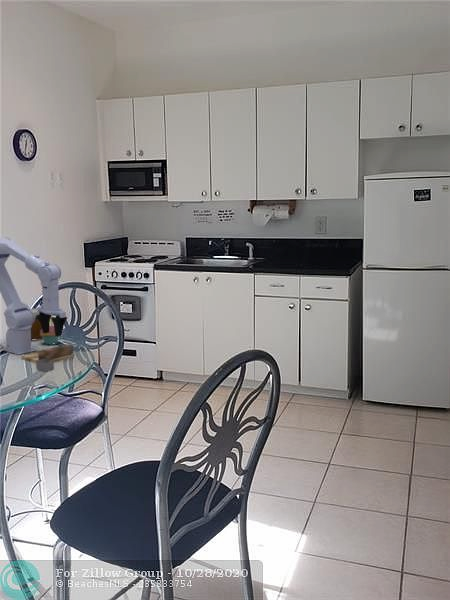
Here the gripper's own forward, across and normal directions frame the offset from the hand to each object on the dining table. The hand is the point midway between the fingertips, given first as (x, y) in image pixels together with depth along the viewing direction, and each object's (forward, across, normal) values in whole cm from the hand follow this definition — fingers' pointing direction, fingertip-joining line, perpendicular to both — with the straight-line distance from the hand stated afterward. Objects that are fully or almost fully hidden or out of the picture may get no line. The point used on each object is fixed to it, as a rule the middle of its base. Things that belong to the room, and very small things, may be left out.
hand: (52, 334), depth 226 cm
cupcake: (+8, +17, -11) cm, 22 cm away
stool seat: (+8, 0, +2) cm, 9 cm away
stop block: (+9, -11, +12) cm, 18 cm away
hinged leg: (+7, -5, +2) cm, 9 cm away
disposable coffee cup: (+8, +28, -11) cm, 31 cm away
